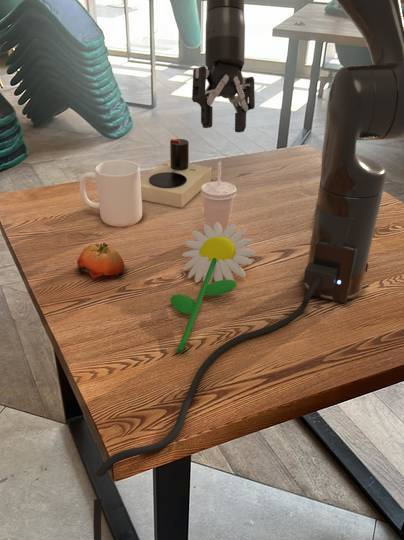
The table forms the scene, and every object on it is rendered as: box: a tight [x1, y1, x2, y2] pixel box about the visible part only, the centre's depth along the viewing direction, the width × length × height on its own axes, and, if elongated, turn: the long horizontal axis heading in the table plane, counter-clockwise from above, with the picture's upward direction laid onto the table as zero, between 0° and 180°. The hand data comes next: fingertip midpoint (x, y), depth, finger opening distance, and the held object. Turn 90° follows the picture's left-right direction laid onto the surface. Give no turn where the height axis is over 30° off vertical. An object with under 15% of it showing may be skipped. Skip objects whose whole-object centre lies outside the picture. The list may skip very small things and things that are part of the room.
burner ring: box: [149, 172, 187, 188], centre depth 121 cm, size 8×8×1 cm
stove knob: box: [169, 138, 190, 170], centre depth 125 cm, size 4×4×6 cm
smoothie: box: [200, 161, 237, 232], centre depth 103 cm, size 6×6×14 cm
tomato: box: [76, 242, 125, 279], centre depth 96 cm, size 8×7×7 cm
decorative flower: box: [170, 222, 257, 354], centre depth 90 cm, size 13×5×30 cm
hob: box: [140, 159, 213, 209], centre depth 124 cm, size 17×11×3 cm, turn 157°
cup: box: [79, 159, 143, 228], centre depth 110 cm, size 8×12×10 cm
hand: (223, 129), depth 113 cm, fingers open, 8 cm apart
